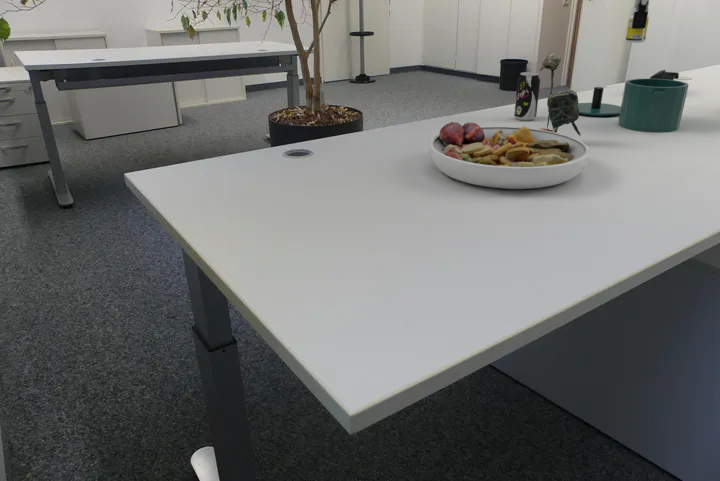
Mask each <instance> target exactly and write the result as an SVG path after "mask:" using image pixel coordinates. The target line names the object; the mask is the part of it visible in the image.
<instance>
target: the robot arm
mask: <svg viewBox="0 0 720 481" xmlns="http://www.w3.org/2000/svg"><path fill="white" fill-rule="evenodd" d="M649 4H650V0H635V1H634V7H633V8H636V12H634V17H633V23H632V28H633V29H644V28H645V27H646V21H647V16H649V11H648V8H649V6H650V5H649ZM647 11H648V12H647Z"/></svg>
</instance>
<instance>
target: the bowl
mask: <svg viewBox="0 0 720 481" xmlns="http://www.w3.org/2000/svg"><path fill="white" fill-rule="evenodd" d="M428 147H429V150H428V151H429V156H430V159H431V161H432V163H433V164H434V166H435V167H436V168H437V169H438V170H439V171H440V172H441V173H443V174H444V175H446V176H447V177H450V178H452V179H454V180H457V181H460V182H463V183H467V184H470V185H474V186H479V187H484V188H485V187H486V188H494V189H506V190H507V189H508V190H509V189H510V190H528V189H531V190H532V189H541V188H548V187H552V186H556V185H560V184H563V183H565V182H568V181H570V180H572V179H573V178H575V177H577V176H578V175H579V174H580V173H581V172H582V171H583V170H584V169H585V168H586V166H587V164H588V162H589V158H590V153H591V151H590V150H591V149H590V147H589V146H588V145H587V144H586V143H585V142H583V141H581V140H579V139H578V138H575V137H573V136H571V135H567V134H563V133H559V132H557V133H556V132H551V131H545V130H540V128H539V129H538V128H530V127H527V126H524V125H522V126H520V127H519V126H480V125H479V124H477V123H476V122H466V123H464V124H463V125H462V124H460V123H459V122H455V121H451V122H449V123H446V124H445V125H444V126H442V127H441V128H440V130H439V134H438V135H436V136H434V137H432V139H431V140H430V142H429V146H428Z"/></svg>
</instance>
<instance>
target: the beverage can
mask: <svg viewBox="0 0 720 481" xmlns="http://www.w3.org/2000/svg"><path fill="white" fill-rule="evenodd" d="M539 75H540V74H539V72H535V71H523V72H520V75H519V77H518V78H517V80H516V81H517V82H516V92H515V102H514V112H513V116H514V118H515V119H516V120H518V121H525V122H526V121H532V120H534V119H536V118H537V115H538V114H537V113H538V103H539V97H540V86H541V78H540V76H539Z"/></svg>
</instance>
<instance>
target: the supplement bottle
mask: <svg viewBox="0 0 720 481" xmlns="http://www.w3.org/2000/svg"><path fill="white" fill-rule="evenodd" d="M649 10H650V8H649V7H648V11H647V12H648V13H649ZM634 12H636V8H634V7H632V8H631V15H630V16H629V17H628V24H627V30H626V36H625V42H626V43H633V44H638V43H645V42H646V39H647V31H648V25H649V20H650V16H649V15H648V16H647V21H646V27H645V28H644V29H633V28H632V23H633V17H634Z"/></svg>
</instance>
